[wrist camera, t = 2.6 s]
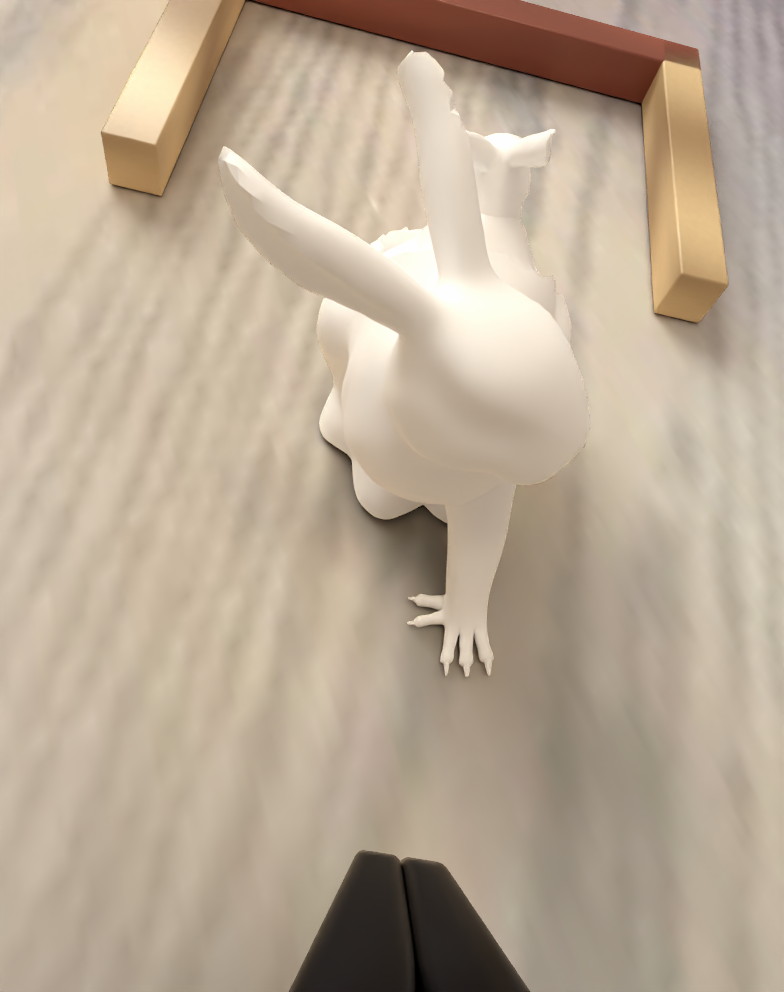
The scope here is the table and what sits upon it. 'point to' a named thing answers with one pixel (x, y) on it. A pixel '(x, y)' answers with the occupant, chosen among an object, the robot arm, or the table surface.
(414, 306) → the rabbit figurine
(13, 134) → the table surface
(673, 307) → the bay
